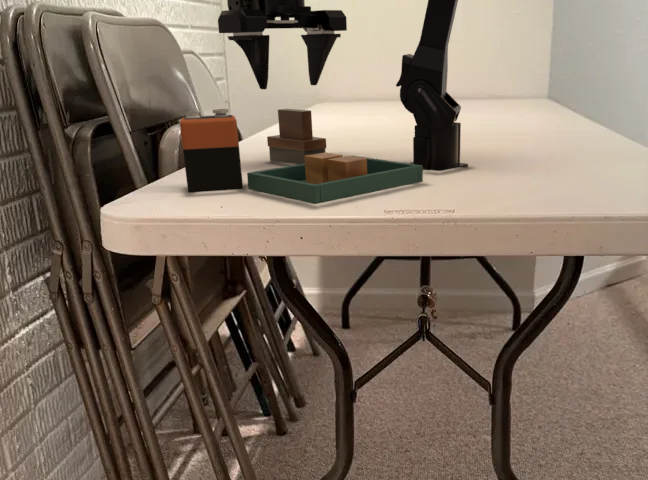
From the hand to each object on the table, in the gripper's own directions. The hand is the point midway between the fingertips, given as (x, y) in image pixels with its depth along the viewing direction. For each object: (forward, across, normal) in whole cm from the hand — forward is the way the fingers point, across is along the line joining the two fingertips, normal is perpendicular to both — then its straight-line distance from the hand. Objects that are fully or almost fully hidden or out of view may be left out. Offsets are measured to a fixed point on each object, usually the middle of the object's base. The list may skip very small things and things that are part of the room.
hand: (289, 87), depth 103 cm
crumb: (+11, +7, +19) cm, 23 cm away
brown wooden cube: (+11, +7, +15) cm, 20 cm away
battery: (+12, +18, +6) cm, 22 cm away
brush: (+12, -3, -3) cm, 12 cm away
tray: (+12, +7, +17) cm, 22 cm away
